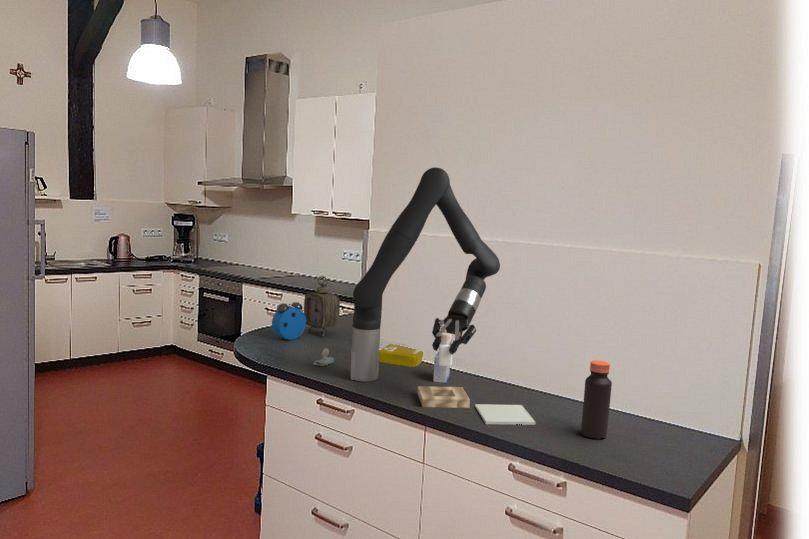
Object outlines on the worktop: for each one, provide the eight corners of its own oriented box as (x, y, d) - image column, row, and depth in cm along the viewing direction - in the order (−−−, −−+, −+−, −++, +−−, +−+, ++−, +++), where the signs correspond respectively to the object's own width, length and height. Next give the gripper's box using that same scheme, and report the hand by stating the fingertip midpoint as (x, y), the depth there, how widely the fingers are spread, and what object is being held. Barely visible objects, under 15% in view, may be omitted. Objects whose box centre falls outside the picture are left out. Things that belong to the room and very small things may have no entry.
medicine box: (446, 383, 212) (447, 358, 210) (432, 382, 212) (434, 356, 211) (449, 377, 219) (450, 352, 218) (436, 375, 220) (437, 351, 219)
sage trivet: (485, 424, 176) (486, 421, 176) (475, 406, 190) (475, 404, 190) (535, 424, 177) (535, 422, 177) (521, 407, 191) (521, 404, 191)
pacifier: (309, 365, 226) (321, 368, 222) (309, 348, 225) (321, 350, 221) (324, 361, 231) (336, 364, 228) (324, 344, 231) (336, 347, 227)
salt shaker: (438, 362, 195) (439, 332, 193) (451, 363, 194) (453, 332, 193) (438, 366, 191) (440, 335, 189) (451, 367, 190) (453, 335, 189)
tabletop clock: (303, 332, 275) (304, 274, 272) (320, 329, 281) (322, 273, 278) (322, 338, 264) (324, 279, 261) (340, 336, 270) (342, 277, 267)
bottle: (592, 441, 168) (598, 367, 165) (575, 431, 174) (581, 360, 171) (612, 438, 170) (619, 365, 168) (595, 429, 176) (601, 358, 174)
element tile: (414, 368, 229) (415, 355, 229) (376, 362, 234) (376, 349, 234) (427, 358, 243) (428, 346, 243) (390, 353, 248) (391, 341, 248)
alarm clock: (298, 335, 268) (299, 300, 266) (306, 338, 264) (307, 302, 262) (270, 339, 259) (271, 302, 257) (279, 342, 255) (280, 305, 253)
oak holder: (422, 407, 187) (422, 399, 187) (417, 394, 199) (418, 386, 199) (469, 407, 189) (469, 399, 188) (461, 394, 200) (462, 387, 200)
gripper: (441, 295, 200) (418, 339, 192) (482, 302, 192) (459, 348, 184) (448, 310, 205) (426, 353, 197) (488, 317, 197) (467, 362, 189)
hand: (442, 350), depth 190 cm, fingers closed on salt shaker, 5 cm apart
